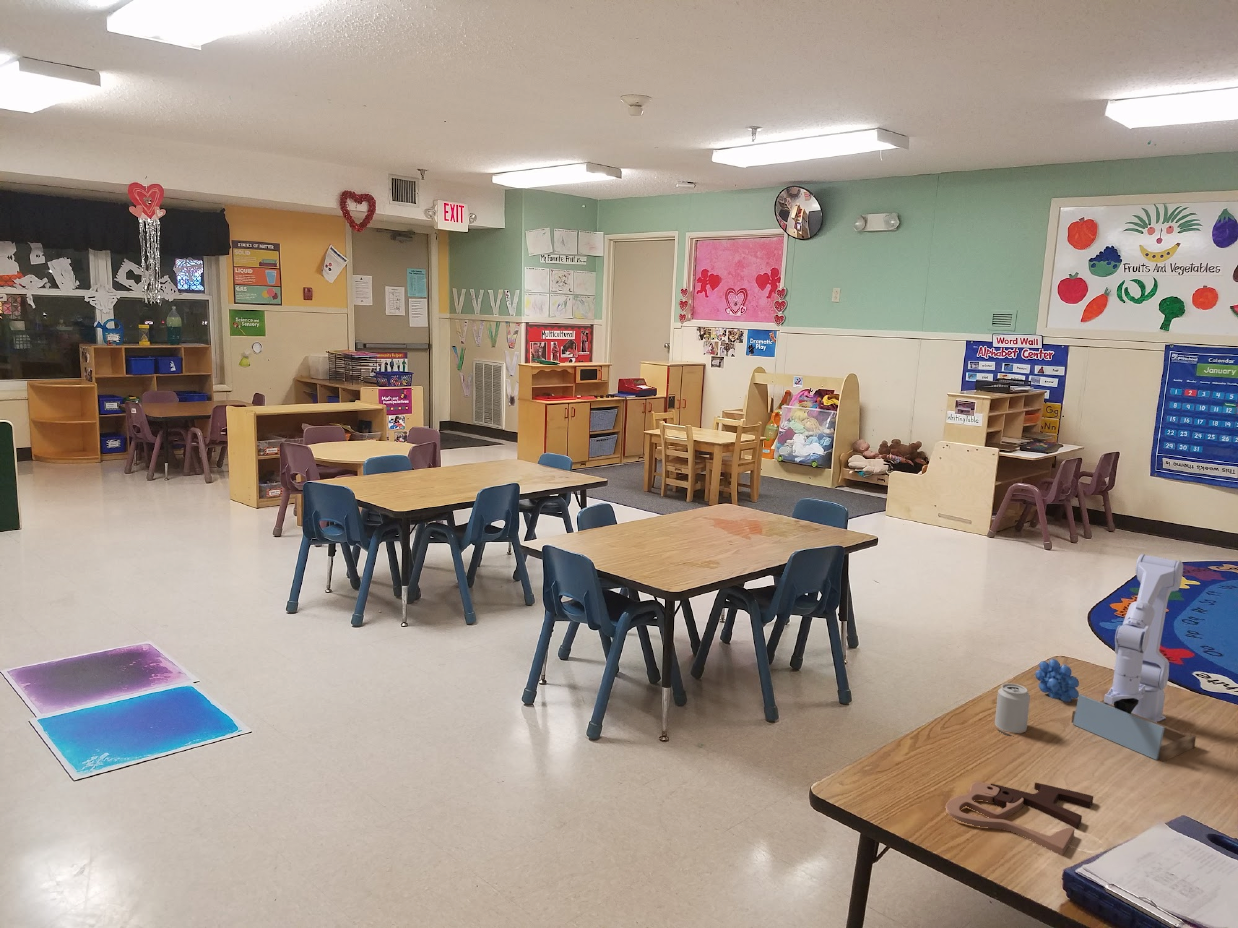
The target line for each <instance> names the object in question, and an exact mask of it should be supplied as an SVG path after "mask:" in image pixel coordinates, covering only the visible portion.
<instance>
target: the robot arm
mask: <svg viewBox="0 0 1238 928" xmlns="http://www.w3.org/2000/svg"><path fill="white" fill-rule="evenodd" d="M1183 572H1184V563H1183V562H1182V560H1179V559H1178V560H1175V559H1171V558H1166V557H1165V558H1164V557H1159V556H1153V555H1147V554H1144V553H1142V554H1141V553H1140V555H1139V556H1138V558H1137V561H1136V564H1135V575H1136V577H1137V578H1136V579H1137V580H1138V582H1139V583H1140V585H1139V590H1138V594H1137V599H1136V601H1133V602H1131V603H1130V604H1129V606H1128V609H1127V612H1126V615H1125V617H1124V619H1123V622H1122V625H1119V624H1118V626H1117V628H1116V630H1115V635H1114V645H1115V649H1114V653H1115V654H1116V656H1115V663H1114V672H1113V680H1112V686H1111V687H1110V688H1109V690H1108V692H1107V693H1105V694H1104V699H1103V700H1104V702H1106V703H1108V704H1111V705H1113V706H1114V707H1115V708H1117V709H1119V710H1122V711H1124V712H1127V713H1129V714H1131V713H1134V714H1136V715H1139V716H1141V717H1144V718H1146V719H1149V720H1151V721H1154V722H1156V723H1159V722H1160V721H1163V720H1166V718H1167V717H1166V716H1164V706H1165V698H1166V692H1165V690H1164V689H1166V687H1167V684H1168V682H1169V676H1170V675H1169V672H1170V662H1169V660H1168V658H1166V657H1165V656H1164V655H1163V653H1161V652H1160V647H1161V642H1162V636H1163V630H1164V625H1165V618H1166V612H1167V606H1168V600H1169V597H1170V594H1171V593H1172V592H1175V591H1176V592H1177V591H1179V590H1180V588H1181V585H1182V584H1181V583H1182V579H1183Z"/></svg>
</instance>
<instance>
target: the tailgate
mask: <svg viewBox="0 0 1238 928" xmlns="http://www.w3.org/2000/svg"><path fill="white" fill-rule="evenodd" d="M1075 710H1076V712H1075V717H1074V722H1073V723H1072V725H1074V726H1076V727H1078V728H1081V729H1083V730H1085V731H1087V732H1090V733H1092V734H1094V735H1096V736H1098V737H1101V738H1104V739H1106V740H1109V741H1110V742H1114V743H1116V744H1117V745H1121V746H1123V747H1125V748H1127V749H1129V750H1132V751H1135V752H1137V753H1139V754H1142V755H1143V756H1146V757H1148V758H1150V759H1153V760H1155V761H1157V760H1159V759H1158V757H1159V752H1160V747H1161V743H1162V738H1163V733H1164V728H1165V727H1162V726H1160V725H1157V724H1155V723H1152V722H1150V721H1147V720H1144V719H1142V718H1139V717H1137V716H1134V715H1132V714H1129V713H1127V712H1124V711H1122V710H1119V709H1117V708H1114V707H1111V706H1109V705H1106V704H1104V703H1101V702H1100V701H1099V700H1095V699H1093V698H1092V697H1088V696H1086V695H1083V694H1082V693H1081V694H1079V697H1078V698H1077V703H1076V707H1075Z"/></svg>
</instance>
